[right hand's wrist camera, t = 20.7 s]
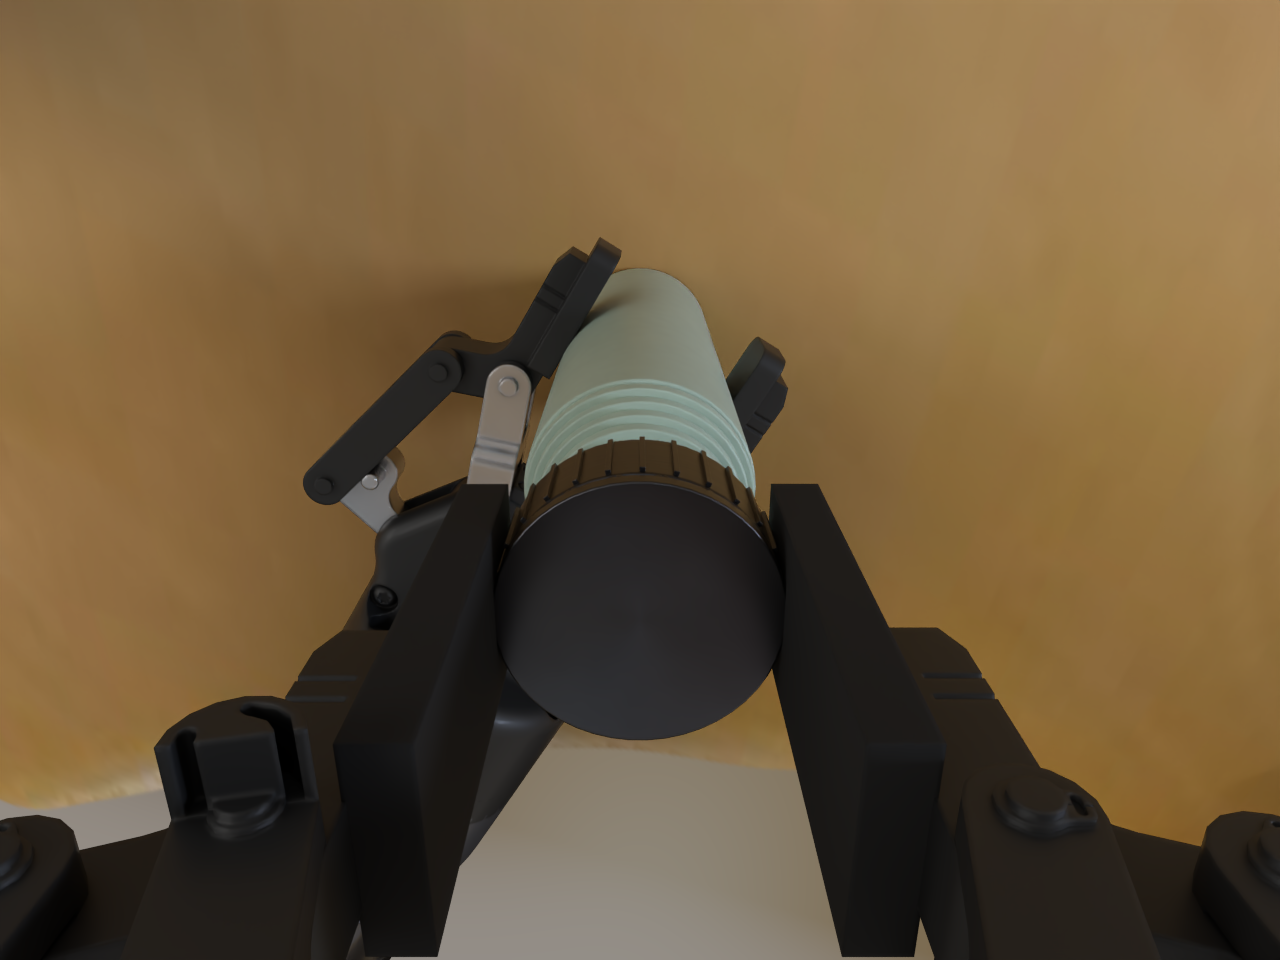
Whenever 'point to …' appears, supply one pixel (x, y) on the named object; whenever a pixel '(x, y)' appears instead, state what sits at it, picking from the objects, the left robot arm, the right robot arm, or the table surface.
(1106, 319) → the table surface
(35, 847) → the right robot arm
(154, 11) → the table surface
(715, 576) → the cap
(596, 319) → the bottle
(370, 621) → the left robot arm
